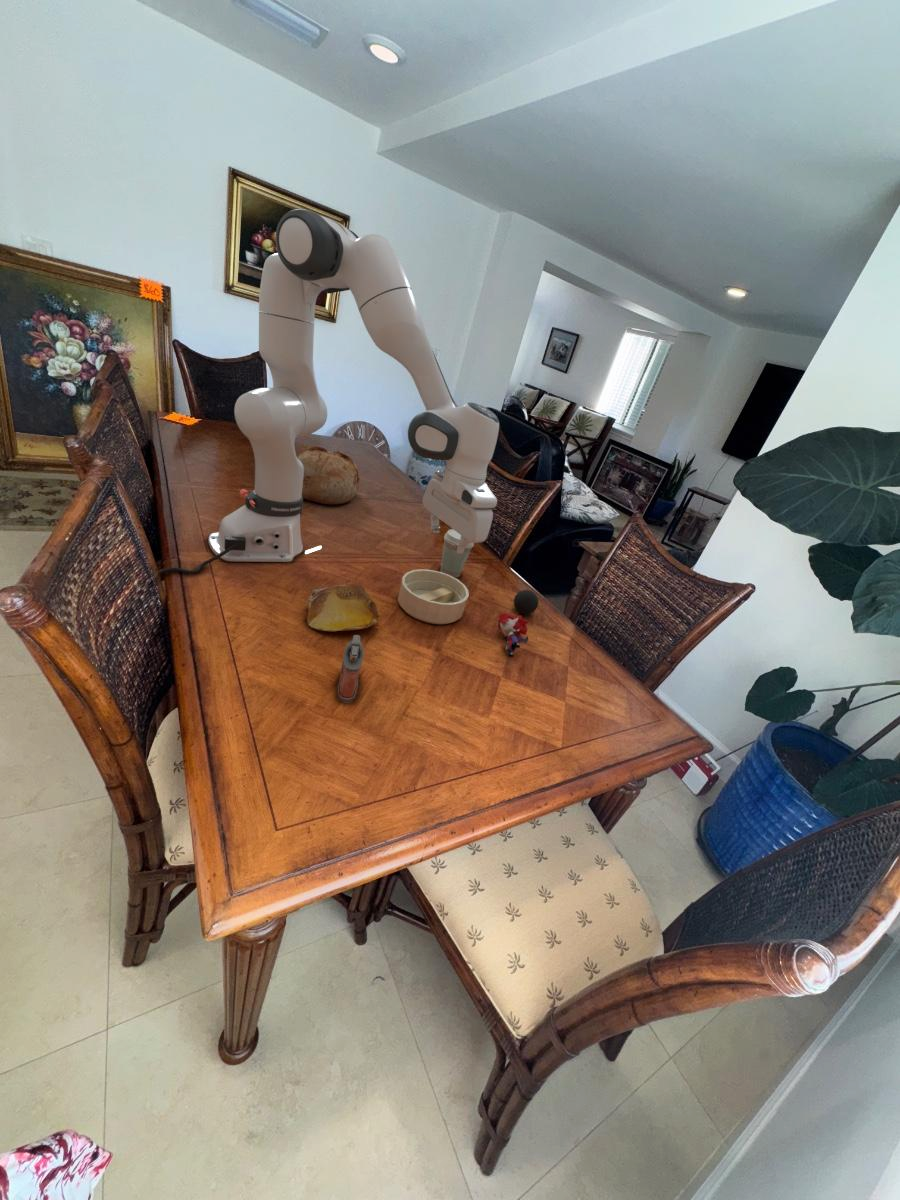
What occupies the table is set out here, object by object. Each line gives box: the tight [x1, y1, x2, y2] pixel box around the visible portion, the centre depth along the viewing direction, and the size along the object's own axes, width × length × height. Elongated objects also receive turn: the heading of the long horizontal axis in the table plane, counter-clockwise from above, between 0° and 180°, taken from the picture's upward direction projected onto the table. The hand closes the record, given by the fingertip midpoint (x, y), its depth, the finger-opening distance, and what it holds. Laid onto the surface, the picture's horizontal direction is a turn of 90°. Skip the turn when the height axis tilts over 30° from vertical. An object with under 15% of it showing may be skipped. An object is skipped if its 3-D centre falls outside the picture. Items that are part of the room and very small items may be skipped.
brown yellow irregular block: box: [306, 583, 380, 632], centre depth 104 cm, size 17×8×15 cm
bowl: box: [397, 568, 470, 625], centre depth 117 cm, size 16×16×6 cm
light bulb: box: [513, 589, 539, 615], centre depth 128 cm, size 6×6×10 cm
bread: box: [297, 445, 361, 506], centre depth 164 cm, size 26×23×15 cm
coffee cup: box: [439, 528, 475, 579], centre depth 135 cm, size 9×8×12 cm
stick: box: [420, 587, 453, 603], centre depth 117 cm, size 12×3×3 cm, turn 139°
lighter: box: [337, 634, 365, 704], centre depth 84 cm, size 8×3×10 cm, turn 5°
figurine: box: [497, 612, 531, 658], centre depth 112 cm, size 6×8×15 cm
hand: (446, 542), depth 110 cm, fingers open, 8 cm apart
